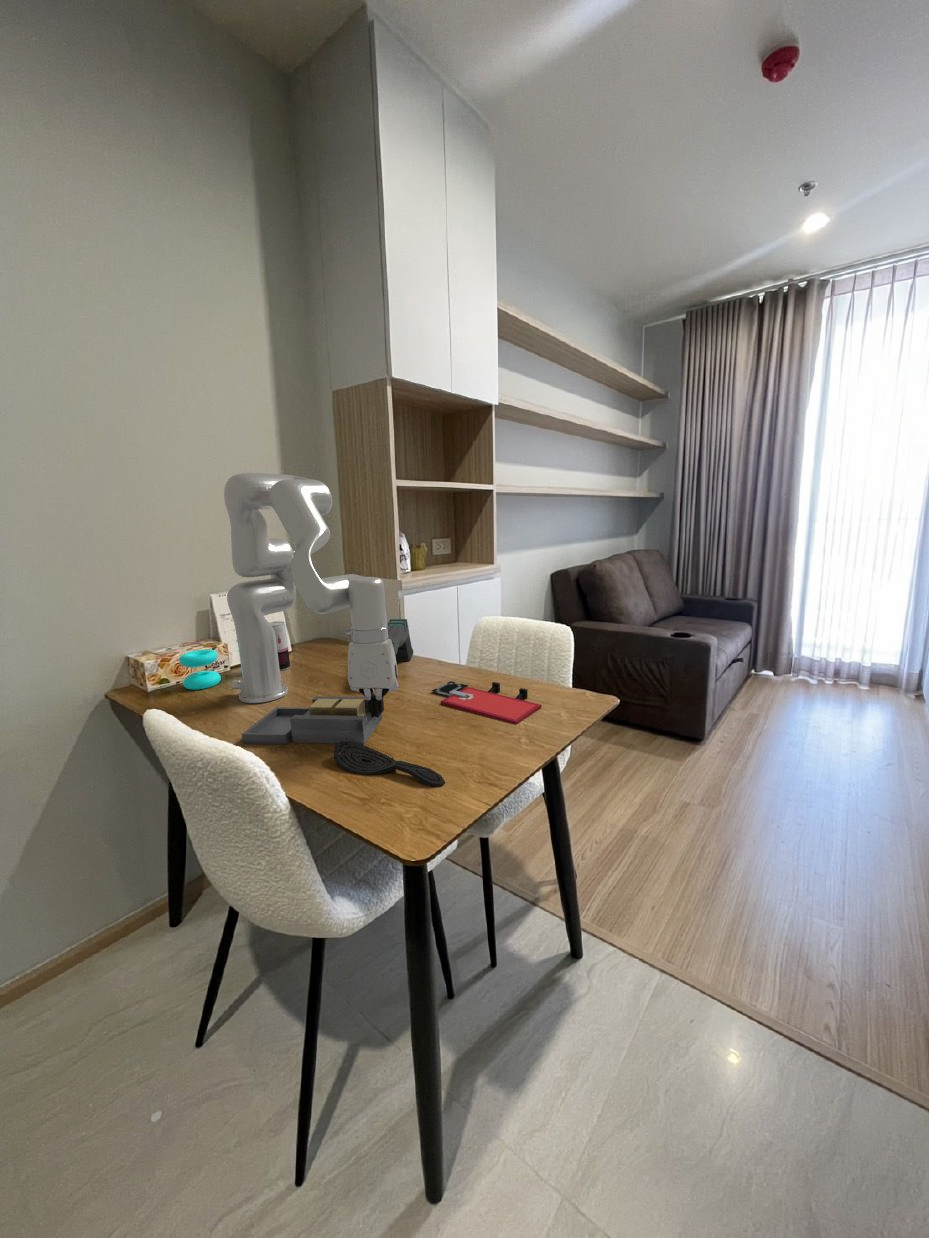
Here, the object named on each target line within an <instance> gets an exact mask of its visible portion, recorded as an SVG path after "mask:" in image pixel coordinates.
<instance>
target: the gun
mask: <svg viewBox="0 0 929 1238" xmlns="http://www.w3.org/2000/svg"><path fill="white" fill-rule="evenodd" d="M387 628H388V639H391V641H392V644H393V648H394V652H395V657H396V662H411V659H412V657H413V655H414V649H413V646H412V641H411V637H410V629H409V623H408V619H407V618H390V619H389V621H387Z"/></svg>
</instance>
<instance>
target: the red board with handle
mask: <svg viewBox="0 0 929 1238" xmlns="http://www.w3.org/2000/svg"><path fill="white" fill-rule="evenodd" d="M518 690H519V691H518V692H519V693H518V694H517V695H516V696H515V697H512V696H507V695H502V694H499V693H501V682H496V681H493V682H491V688H489V690H482V689H477V688H473V687H470V685H468V684H464V683H460V682H455V681H452V680H450V681H448V682H446V683H444V684H442V685H440V686H437V687H436V688H434V689H431V692H434V693H437V694H440V695H441V694H442V695H444V696H445V695H446V696H448V697H445V698H443V699H442V700H440V705H442V706H446V707H449V708H455V709H458V710H462V711H465V712H468V713H469V712H470V713H474V714H477V715H480V716H485V717H488V718H491V719H496V720H499V721H503V722H507V723H510V724H515V725H519V723H521V722H522V721H524V720H525V719H527V718H529V717H530V716H532V715H533V714H535V713H536V712H538V711H539V710H541V709H542V707H543V706H542V704H539V703H535V702H532V701H531V702H530V701H528V695H529V694H528V689H527V688H524V687H521V688H519V689H518ZM522 699H523V700H522Z"/></svg>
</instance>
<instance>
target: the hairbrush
mask: <svg viewBox="0 0 929 1238" xmlns="http://www.w3.org/2000/svg"><path fill="white" fill-rule="evenodd" d="M346 739H347V738H346ZM342 740H343V739H342ZM353 740H354V739H353ZM339 741H340V740H339ZM357 742H358V741H357ZM357 742H354V741H353V742H350V741H349V742H346V741H342V742H340V743H334V744H335V746H334V750H333V758H334V760H335V761H336V763H337V765H338V766H339V767H340V769H341V770H343V771H345V772H348V773H351V774H353V775H354V774H355V775H361V776H362V775H363V776H373V775H374V776H378V775H382V774H386V773H389V772H392V771H394V770H396V771H398V772H399V771H400V772H402V773H405V774H408V775H410V776H411V777H413V778H414V779H416V780H418V781H419V782H421V784H422V783H423V784H425V785H427V786H429V787H432V788H438V787H439V788H441V787H443V786H444V785H445V784H446V781H445V779H444V778H443V777H442V776H443V775H441V774H440V773H438V772H436V771H434V769H432V768H429V767H425V766H422V765H419V764H415V763H412V762H408V761H407V762H406V761H403V760H396V759H394V756H390V755H389V753H387V752H386V751H385V753H384V751H383V750H382V749H380V751H379V748H377V750H376V747H374V746H373V747H370V745H369V744H367V745H366V744H362V743H361V744H359V743H357Z"/></svg>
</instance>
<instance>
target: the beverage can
mask: <svg viewBox="0 0 929 1238" xmlns="http://www.w3.org/2000/svg"><path fill="white" fill-rule="evenodd" d="M269 623H270V624H271V626H272V627H273V629H274V631H275V637H276V645H277V653H278V661H279V669H280V672H283V671H286V670H288V669H289V668H290V667H291V658H290V653H289V645H288V643H289V642H288V637H287V636H288V635H287V628H286V623H285V621H271V622H269Z"/></svg>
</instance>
